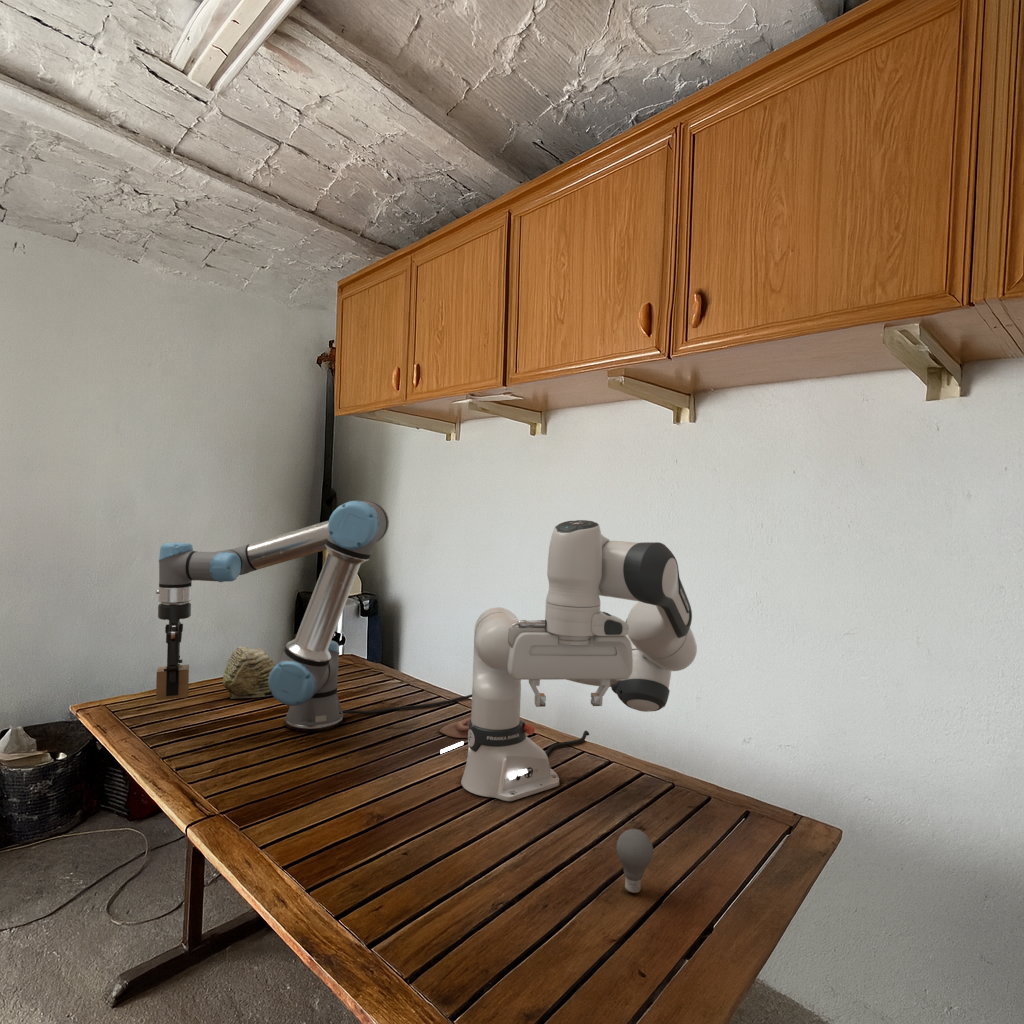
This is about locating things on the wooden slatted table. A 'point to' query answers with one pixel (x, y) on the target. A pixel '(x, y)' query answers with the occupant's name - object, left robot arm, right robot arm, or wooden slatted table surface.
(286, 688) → the left robot arm
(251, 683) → the fossil
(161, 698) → the tan brown block
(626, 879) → the light bulb
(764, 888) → the wooden slatted table surface
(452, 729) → the anatomical model
